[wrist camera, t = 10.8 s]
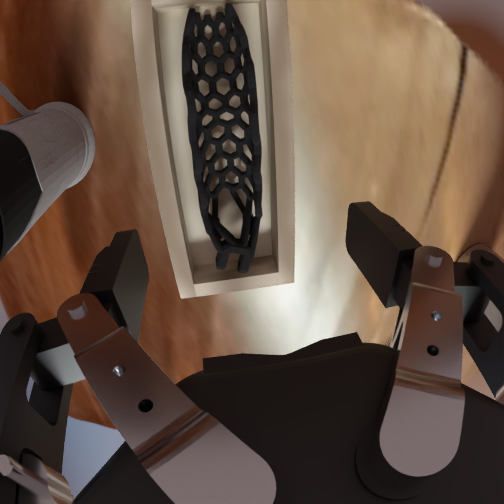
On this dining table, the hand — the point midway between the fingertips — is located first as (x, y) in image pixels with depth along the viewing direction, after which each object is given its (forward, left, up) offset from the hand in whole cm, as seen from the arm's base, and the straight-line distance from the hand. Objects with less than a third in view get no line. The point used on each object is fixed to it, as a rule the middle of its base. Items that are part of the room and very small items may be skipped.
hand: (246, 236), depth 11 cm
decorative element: (0, 0, -16) cm, 16 cm away
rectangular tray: (0, 0, -18) cm, 18 cm away
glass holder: (+16, -5, -18) cm, 24 cm away
